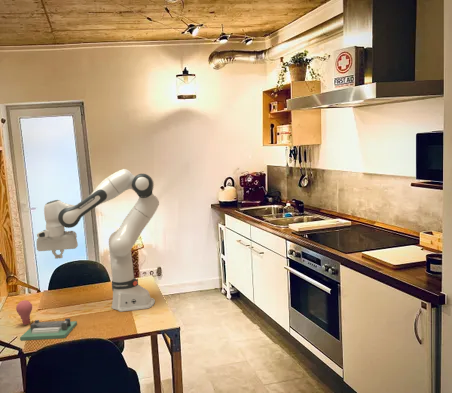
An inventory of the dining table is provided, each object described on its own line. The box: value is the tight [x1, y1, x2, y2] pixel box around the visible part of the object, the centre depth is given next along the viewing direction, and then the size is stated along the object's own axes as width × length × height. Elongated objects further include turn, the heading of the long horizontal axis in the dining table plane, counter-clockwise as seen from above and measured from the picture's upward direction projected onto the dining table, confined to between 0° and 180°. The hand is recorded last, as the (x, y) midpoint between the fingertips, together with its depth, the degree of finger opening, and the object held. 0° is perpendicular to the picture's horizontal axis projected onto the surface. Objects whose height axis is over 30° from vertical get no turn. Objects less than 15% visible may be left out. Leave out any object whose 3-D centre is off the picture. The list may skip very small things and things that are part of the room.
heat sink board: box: [19, 317, 78, 341], centre depth 211 cm, size 20×16×5 cm
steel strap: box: [30, 320, 69, 328], centre depth 211 cm, size 17×3×2 cm, turn 89°
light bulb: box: [15, 299, 33, 326], centre depth 222 cm, size 7×7×12 cm
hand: (58, 258), depth 236 cm, fingers closed
